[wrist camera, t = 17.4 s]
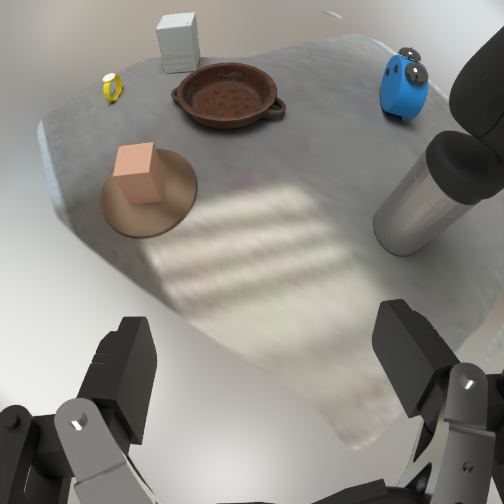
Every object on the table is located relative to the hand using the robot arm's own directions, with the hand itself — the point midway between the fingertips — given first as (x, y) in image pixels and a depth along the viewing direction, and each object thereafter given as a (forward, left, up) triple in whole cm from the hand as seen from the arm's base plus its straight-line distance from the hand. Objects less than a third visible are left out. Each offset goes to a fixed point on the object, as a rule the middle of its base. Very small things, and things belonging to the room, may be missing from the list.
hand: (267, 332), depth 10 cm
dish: (-33, -29, -31) cm, 54 cm away
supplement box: (-39, -47, -31) cm, 69 cm away
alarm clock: (-57, -3, -31) cm, 65 cm away
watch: (-23, -52, -31) cm, 65 cm away
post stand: (-10, -27, -31) cm, 42 cm away
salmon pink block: (-10, -27, -30) cm, 41 cm away
